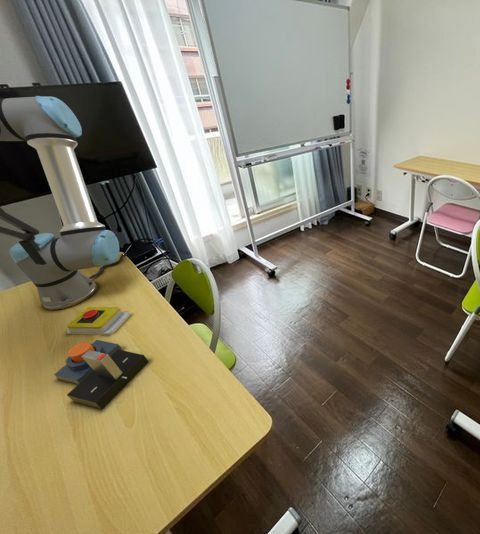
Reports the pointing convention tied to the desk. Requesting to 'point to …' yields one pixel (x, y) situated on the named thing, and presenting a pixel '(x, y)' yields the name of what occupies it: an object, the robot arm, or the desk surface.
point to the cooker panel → (108, 381)
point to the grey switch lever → (102, 364)
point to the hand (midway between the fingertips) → (10, 279)
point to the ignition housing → (84, 363)
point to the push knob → (79, 351)
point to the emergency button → (98, 321)
